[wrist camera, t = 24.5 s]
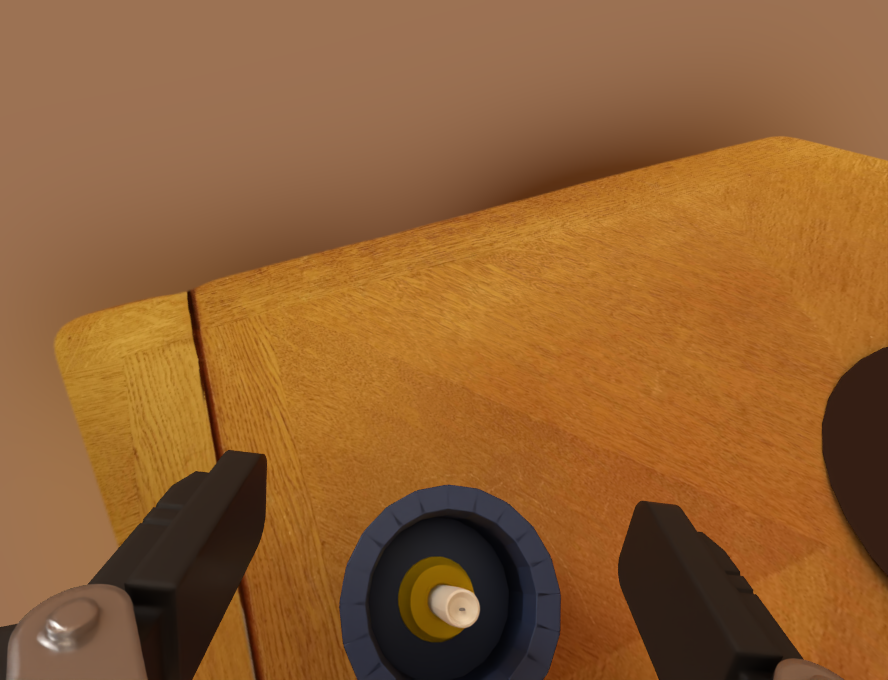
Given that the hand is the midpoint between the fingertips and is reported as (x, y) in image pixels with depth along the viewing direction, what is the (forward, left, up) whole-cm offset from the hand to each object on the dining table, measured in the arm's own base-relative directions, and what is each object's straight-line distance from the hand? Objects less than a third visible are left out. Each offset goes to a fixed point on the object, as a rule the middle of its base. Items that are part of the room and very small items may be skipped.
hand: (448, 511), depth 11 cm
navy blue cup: (+1, -2, -28) cm, 28 cm away
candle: (+1, -3, -28) cm, 28 cm away
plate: (+48, -4, -28) cm, 56 cm away
